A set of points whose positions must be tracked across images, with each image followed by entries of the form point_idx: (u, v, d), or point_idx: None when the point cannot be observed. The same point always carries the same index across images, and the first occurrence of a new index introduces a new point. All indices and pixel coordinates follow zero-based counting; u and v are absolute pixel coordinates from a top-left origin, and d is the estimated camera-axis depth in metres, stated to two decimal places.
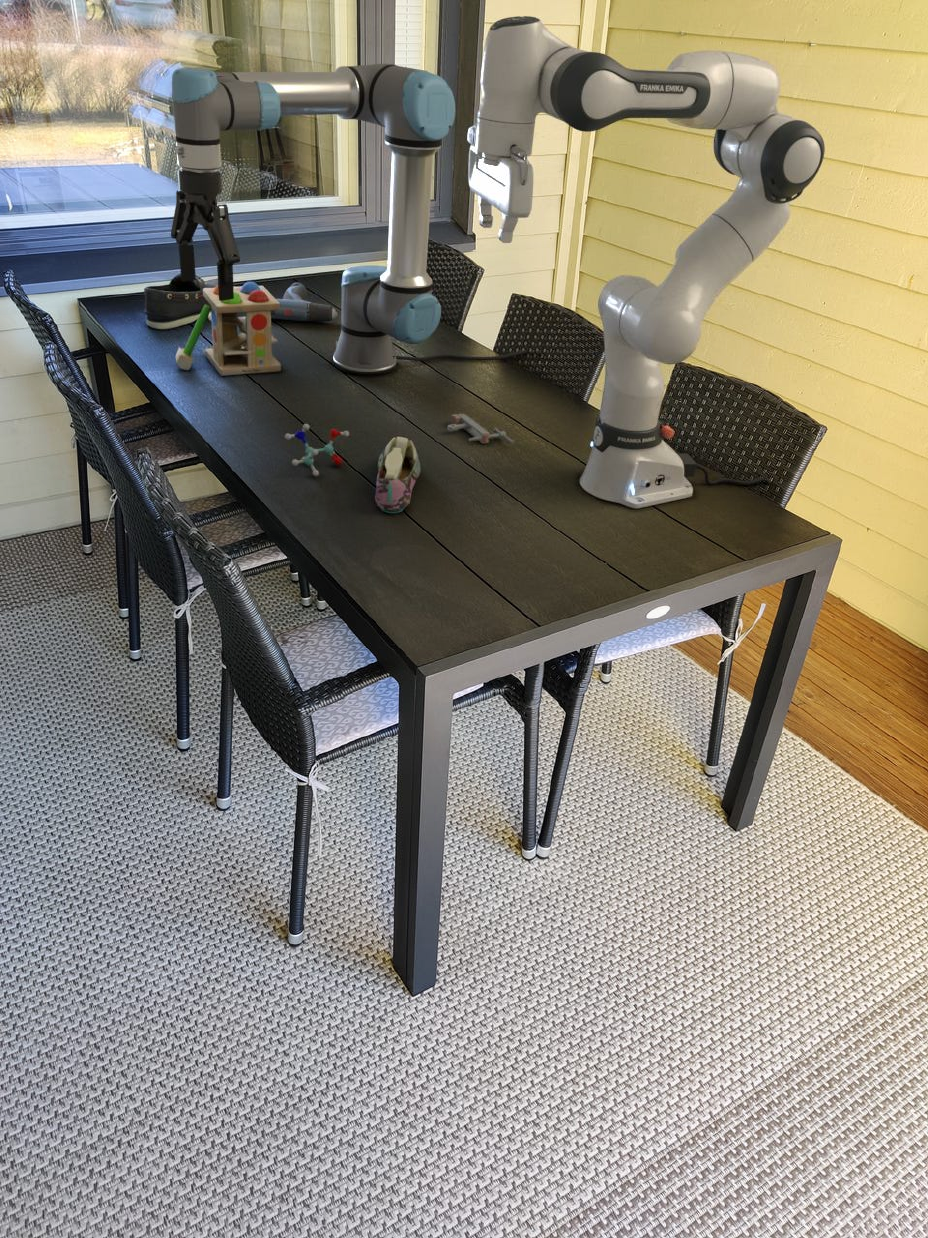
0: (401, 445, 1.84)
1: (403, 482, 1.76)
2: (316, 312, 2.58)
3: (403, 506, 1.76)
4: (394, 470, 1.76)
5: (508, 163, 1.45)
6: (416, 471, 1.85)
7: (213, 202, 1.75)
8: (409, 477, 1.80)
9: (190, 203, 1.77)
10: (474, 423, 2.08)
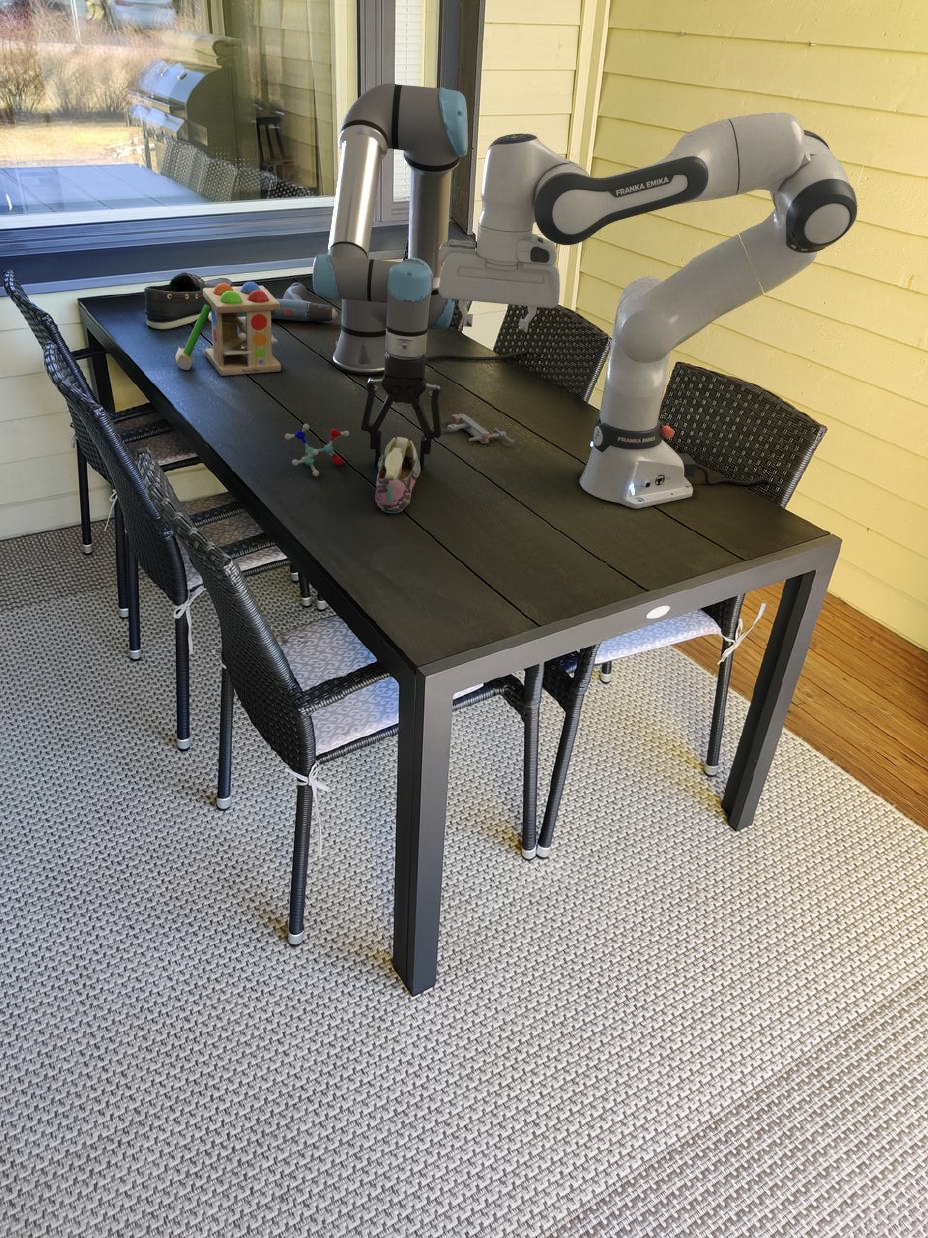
0: (401, 445, 1.84)
1: (403, 482, 1.76)
2: (316, 312, 2.58)
3: (403, 506, 1.76)
4: (394, 470, 1.76)
5: None
6: (416, 471, 1.85)
7: (423, 380, 1.83)
8: (409, 477, 1.80)
9: (396, 386, 1.82)
10: (474, 423, 2.08)
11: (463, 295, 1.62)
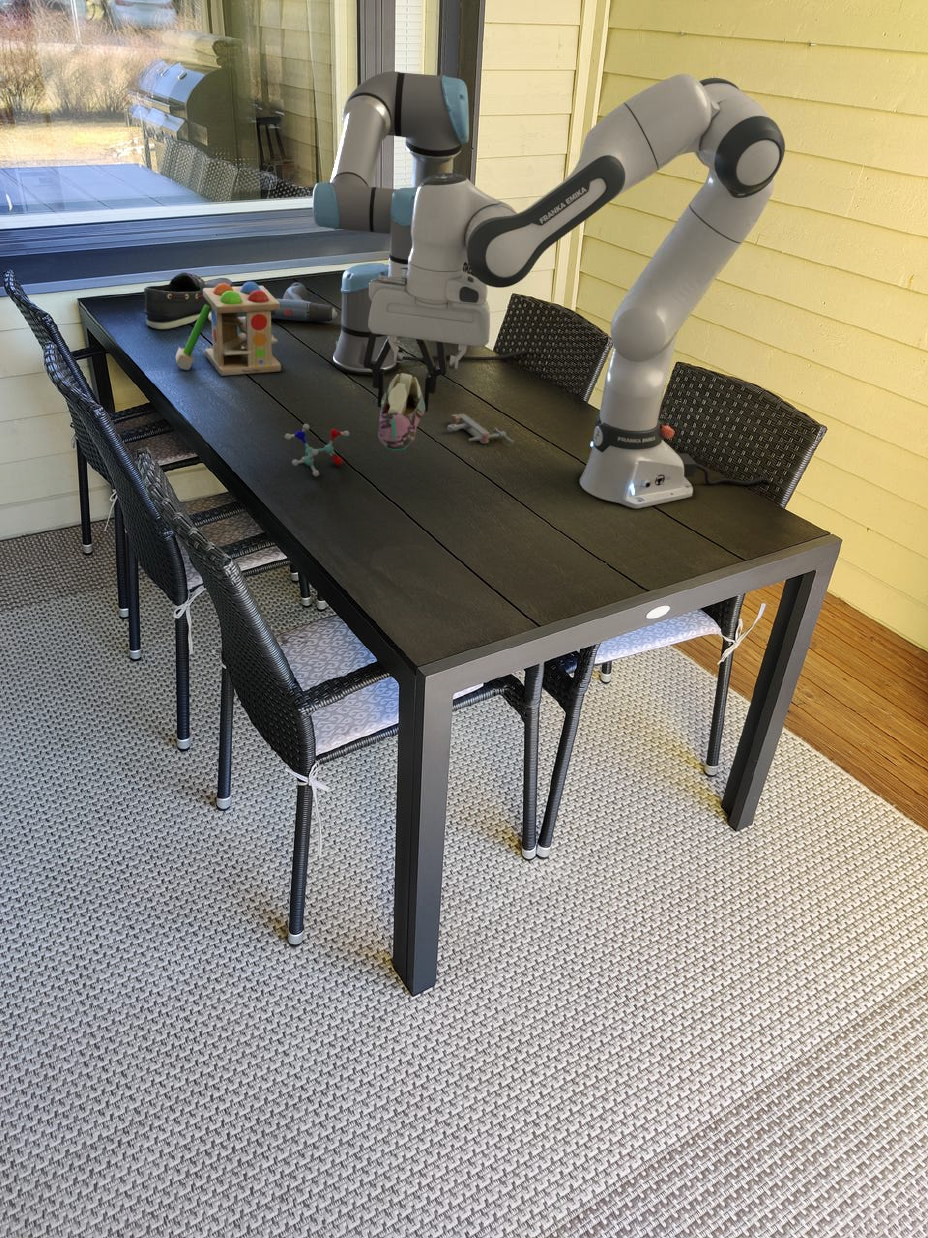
0: (405, 382, 1.77)
1: (407, 417, 1.69)
2: (316, 312, 2.58)
3: (407, 443, 1.70)
4: (398, 405, 1.70)
5: None
6: (421, 409, 1.78)
7: None
8: (413, 414, 1.73)
9: None
10: (474, 423, 2.08)
11: (393, 331, 1.61)
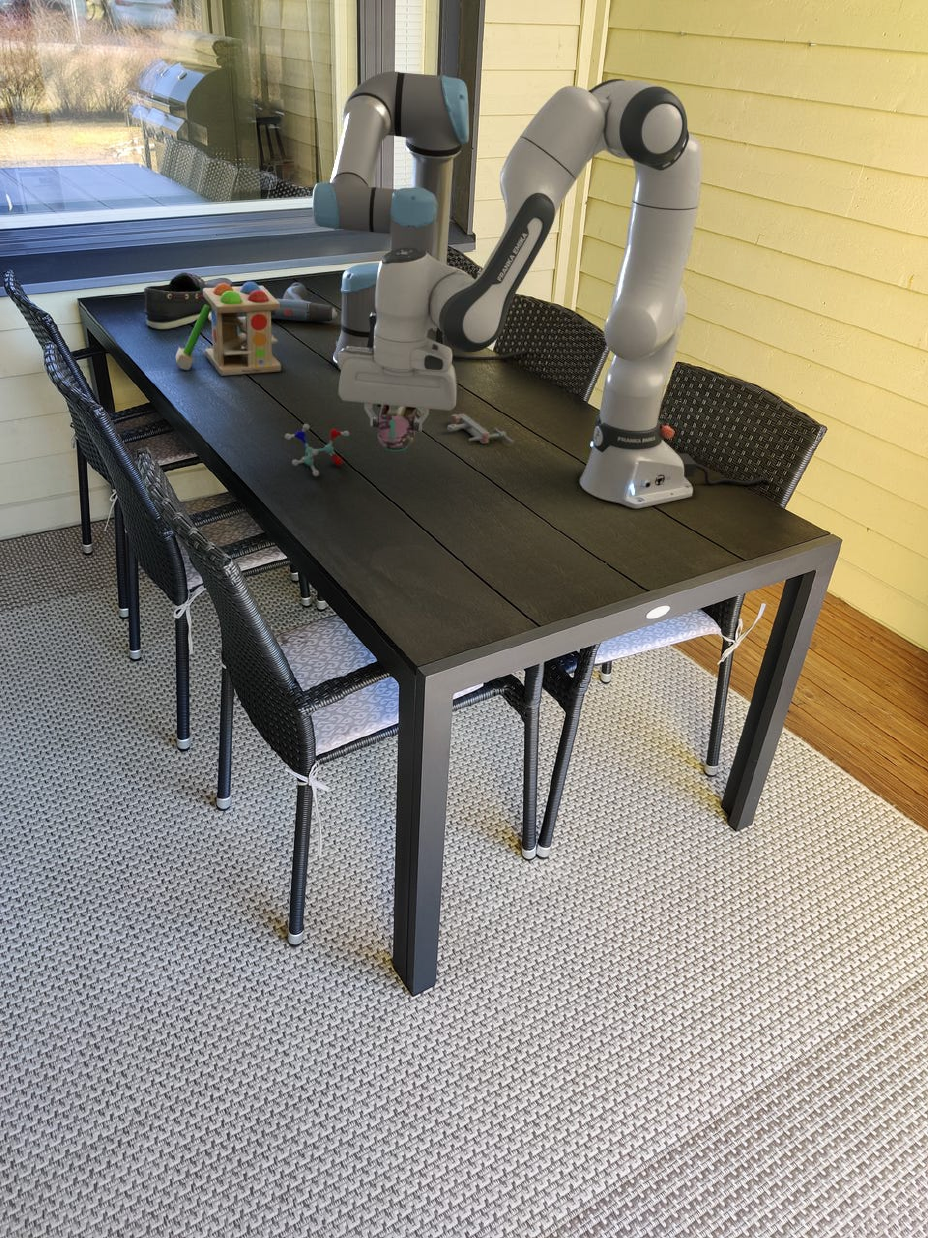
0: None
1: (406, 418, 1.69)
2: (316, 312, 2.58)
3: (406, 444, 1.70)
4: (397, 406, 1.70)
5: None
6: (420, 410, 1.78)
7: None
8: (413, 414, 1.73)
9: None
10: (474, 423, 2.08)
11: (362, 398, 1.67)
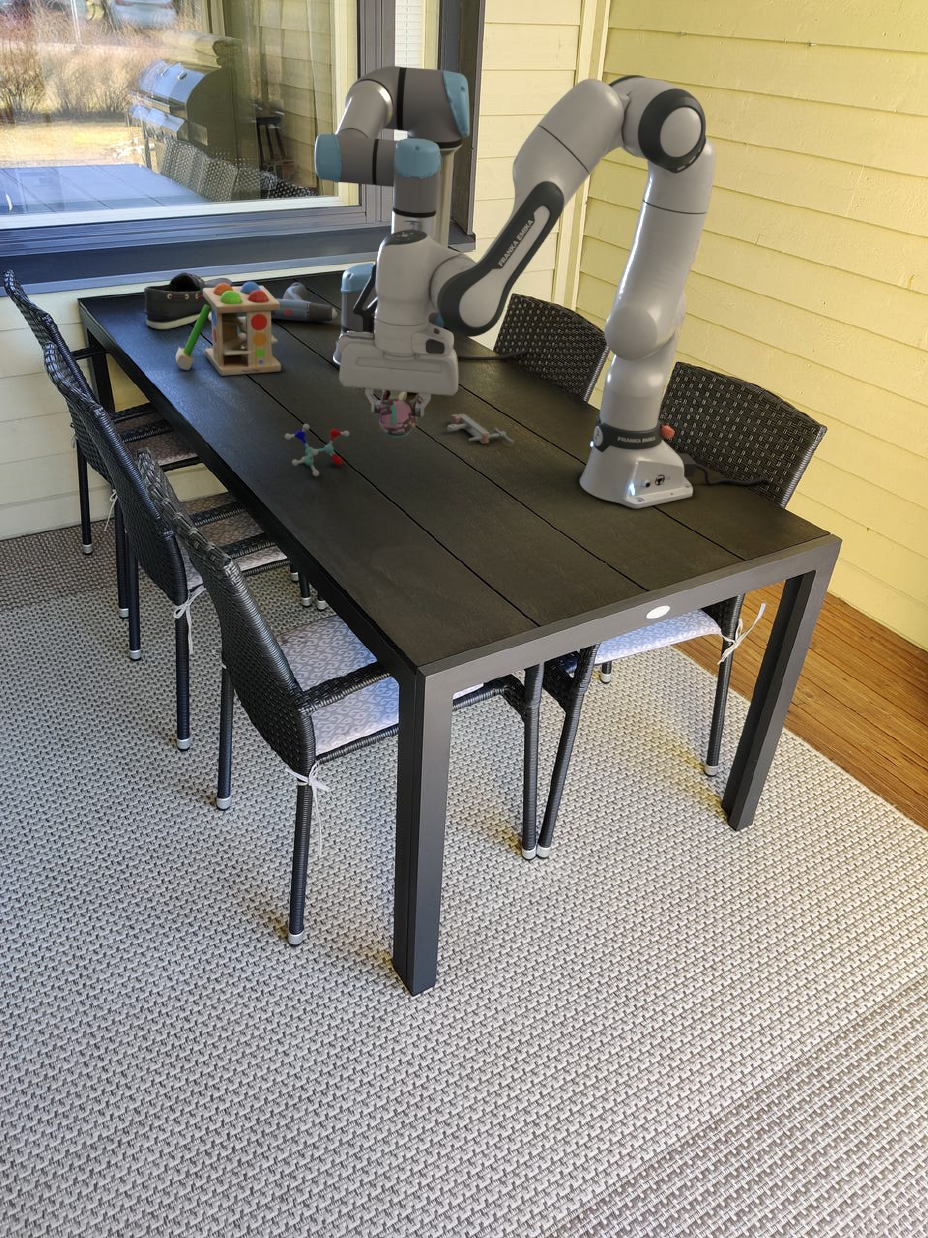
0: None
1: (408, 404, 1.68)
2: (316, 312, 2.58)
3: (408, 429, 1.68)
4: (398, 392, 1.68)
5: None
6: (422, 396, 1.77)
7: None
8: (414, 400, 1.72)
9: None
10: (474, 423, 2.08)
11: (363, 384, 1.65)
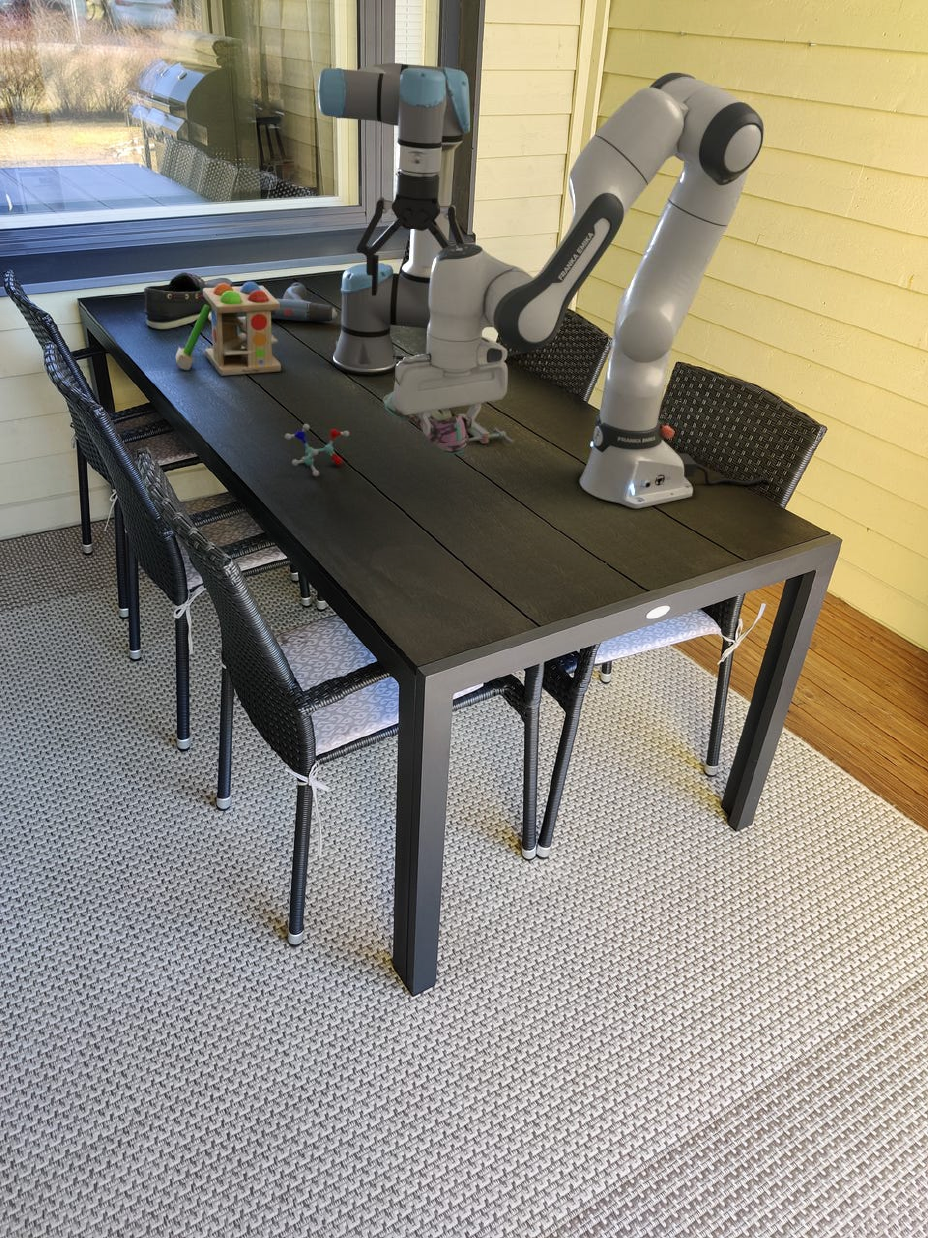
0: None
1: None
2: (316, 312, 2.58)
3: None
4: (447, 408, 1.65)
5: None
6: None
7: None
8: None
9: (409, 210, 1.70)
10: (474, 423, 2.08)
11: (425, 408, 1.59)
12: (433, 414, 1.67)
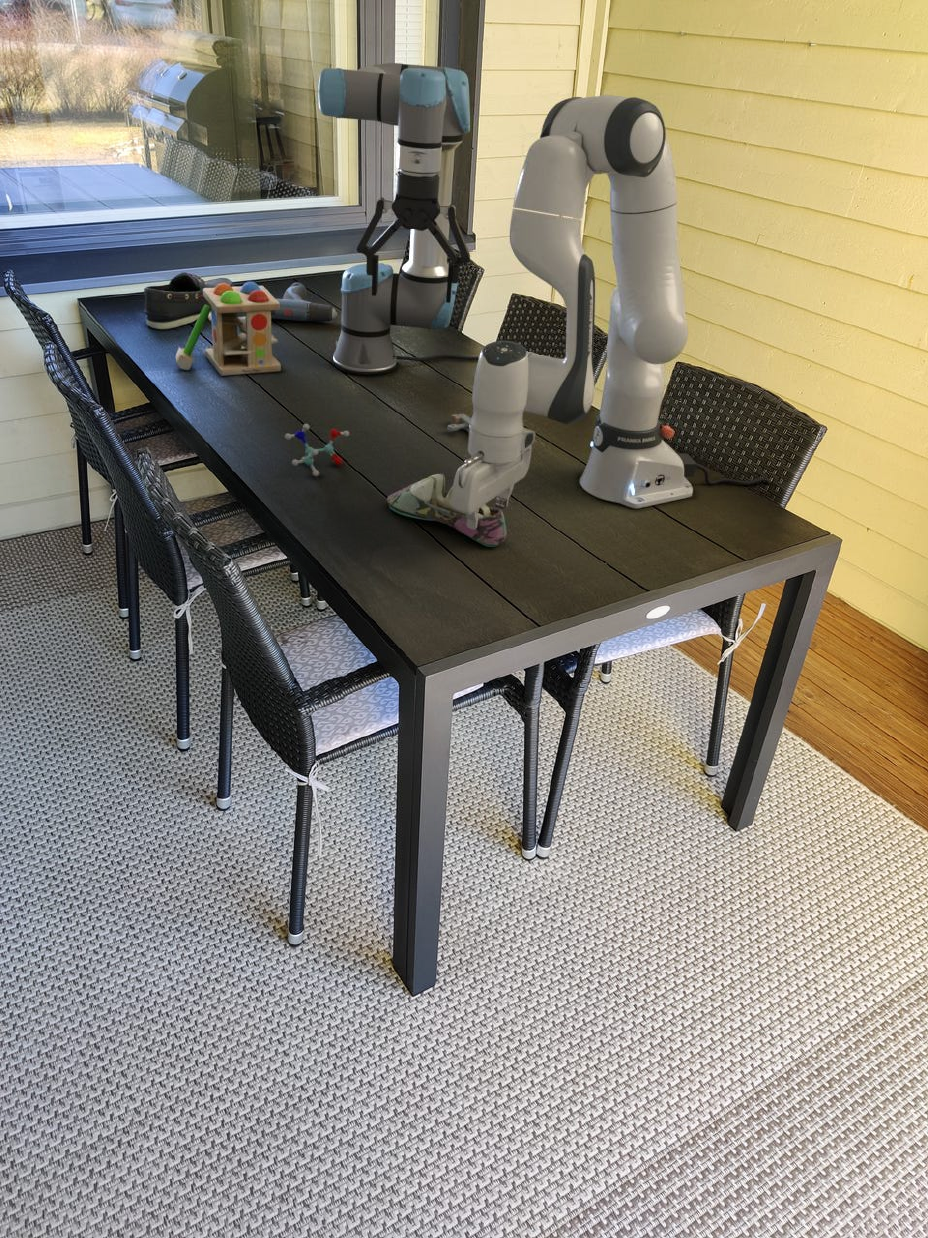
0: (440, 483, 1.72)
1: None
2: (316, 312, 2.58)
3: None
4: None
5: (461, 466, 1.58)
6: None
7: None
8: None
9: (409, 210, 1.70)
10: None
11: (481, 503, 1.62)
12: None
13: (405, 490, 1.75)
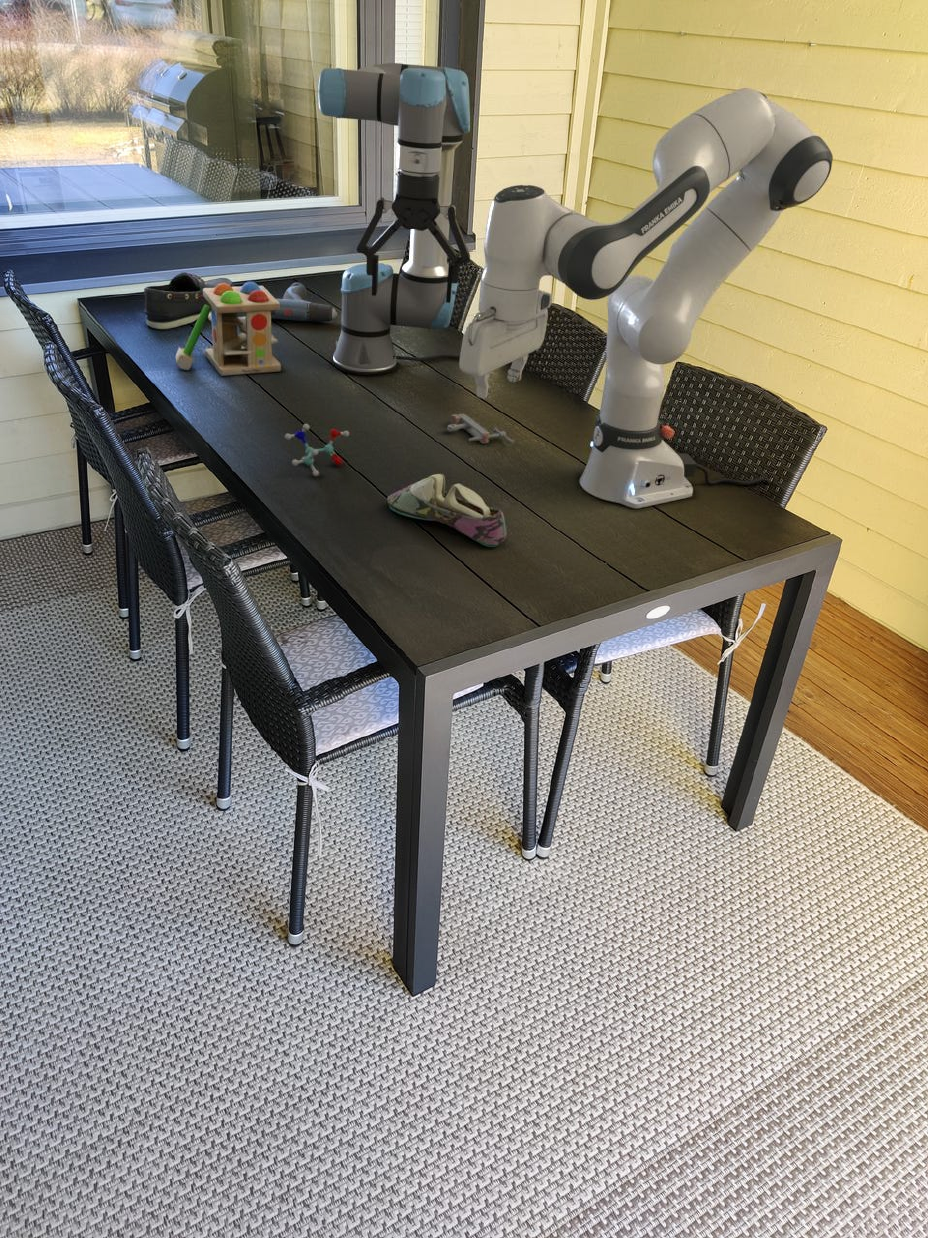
0: (440, 483, 1.72)
1: None
2: (316, 312, 2.58)
3: None
4: (484, 503, 1.69)
5: None
6: None
7: None
8: None
9: (409, 210, 1.70)
10: (474, 423, 2.08)
11: (492, 367, 1.49)
12: (465, 511, 1.70)
13: (405, 490, 1.75)
